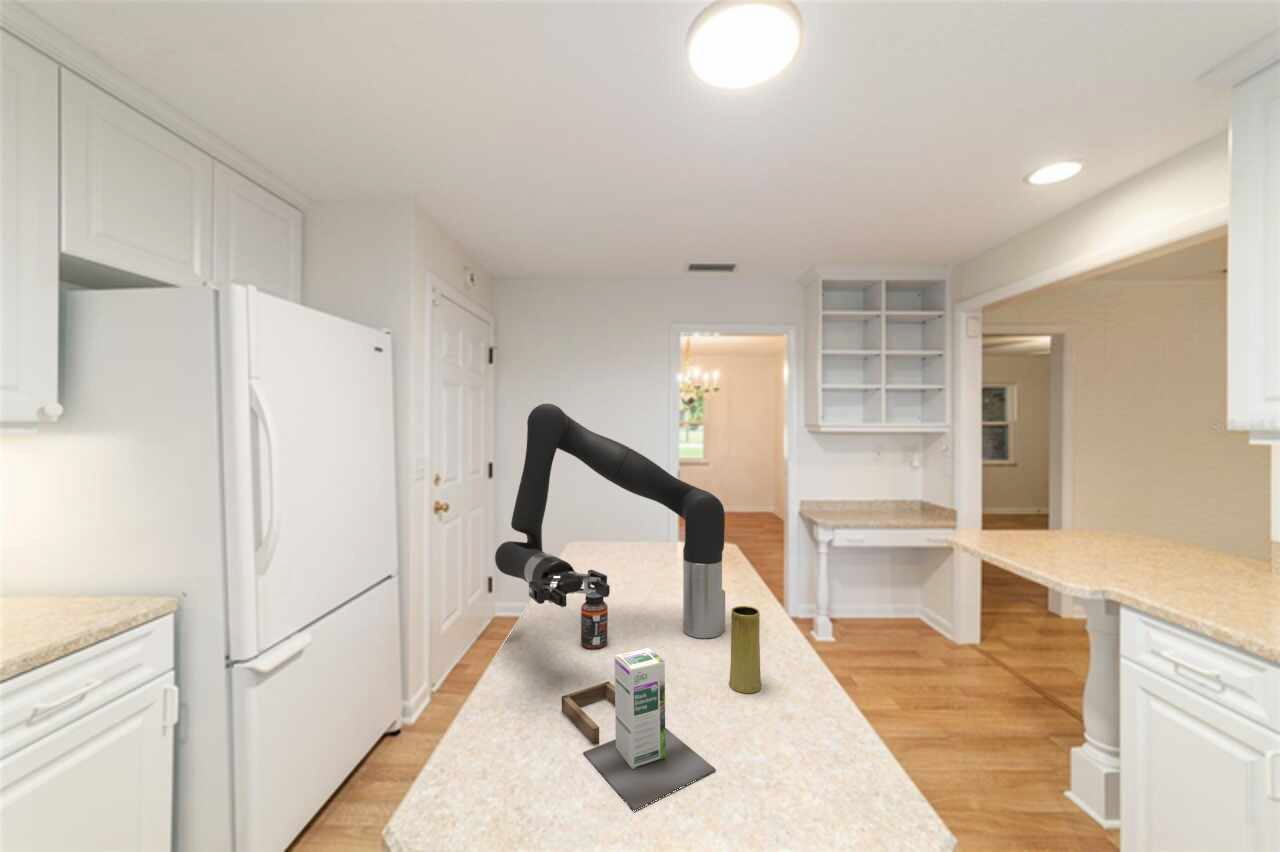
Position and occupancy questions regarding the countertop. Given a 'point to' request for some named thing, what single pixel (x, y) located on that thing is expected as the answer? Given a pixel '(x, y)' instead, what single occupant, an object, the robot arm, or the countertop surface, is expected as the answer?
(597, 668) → the countertop surface
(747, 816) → the countertop surface
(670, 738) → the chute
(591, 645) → the supplement bottle
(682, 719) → the countertop surface
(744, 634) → the vase
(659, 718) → the syrup box
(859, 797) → the countertop surface
